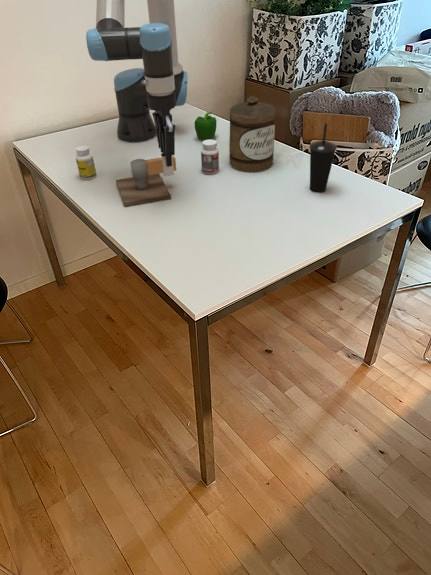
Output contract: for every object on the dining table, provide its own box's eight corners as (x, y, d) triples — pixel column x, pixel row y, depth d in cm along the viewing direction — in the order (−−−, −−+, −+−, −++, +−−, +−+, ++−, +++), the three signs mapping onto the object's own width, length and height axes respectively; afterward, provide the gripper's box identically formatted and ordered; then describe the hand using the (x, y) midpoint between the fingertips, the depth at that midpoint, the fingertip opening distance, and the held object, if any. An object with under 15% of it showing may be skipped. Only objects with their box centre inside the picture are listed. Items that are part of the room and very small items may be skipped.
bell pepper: (197, 144, 169) (196, 117, 163) (193, 136, 175) (191, 110, 169) (219, 142, 170) (219, 115, 164) (214, 134, 177) (213, 107, 170)
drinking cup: (314, 181, 144) (322, 117, 131) (335, 188, 139) (345, 123, 127) (300, 189, 140) (306, 124, 127) (320, 197, 135) (329, 131, 123)
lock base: (116, 183, 146) (113, 168, 142) (159, 176, 149) (157, 161, 146) (124, 207, 134) (121, 190, 131) (170, 199, 137) (169, 182, 134)
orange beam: (133, 179, 136) (132, 167, 133) (131, 172, 139) (129, 160, 137) (177, 172, 139) (176, 159, 136) (173, 165, 142) (172, 153, 140)
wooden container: (246, 176, 148) (247, 107, 134) (221, 161, 157) (220, 95, 143) (281, 165, 154) (286, 97, 140) (255, 150, 163) (257, 86, 149)
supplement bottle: (76, 176, 151) (70, 148, 144) (90, 171, 154) (84, 143, 147) (86, 181, 148) (79, 152, 141) (100, 175, 151) (94, 147, 144)
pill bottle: (217, 175, 149) (216, 146, 142) (200, 174, 150) (198, 145, 143) (220, 168, 153) (219, 139, 147) (204, 167, 154) (202, 138, 148)
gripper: (140, 87, 123) (150, 168, 138) (154, 100, 114) (163, 186, 129) (166, 83, 125) (173, 164, 140) (182, 96, 116) (188, 181, 131)
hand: (168, 174), depth 135 cm, fingers closed
